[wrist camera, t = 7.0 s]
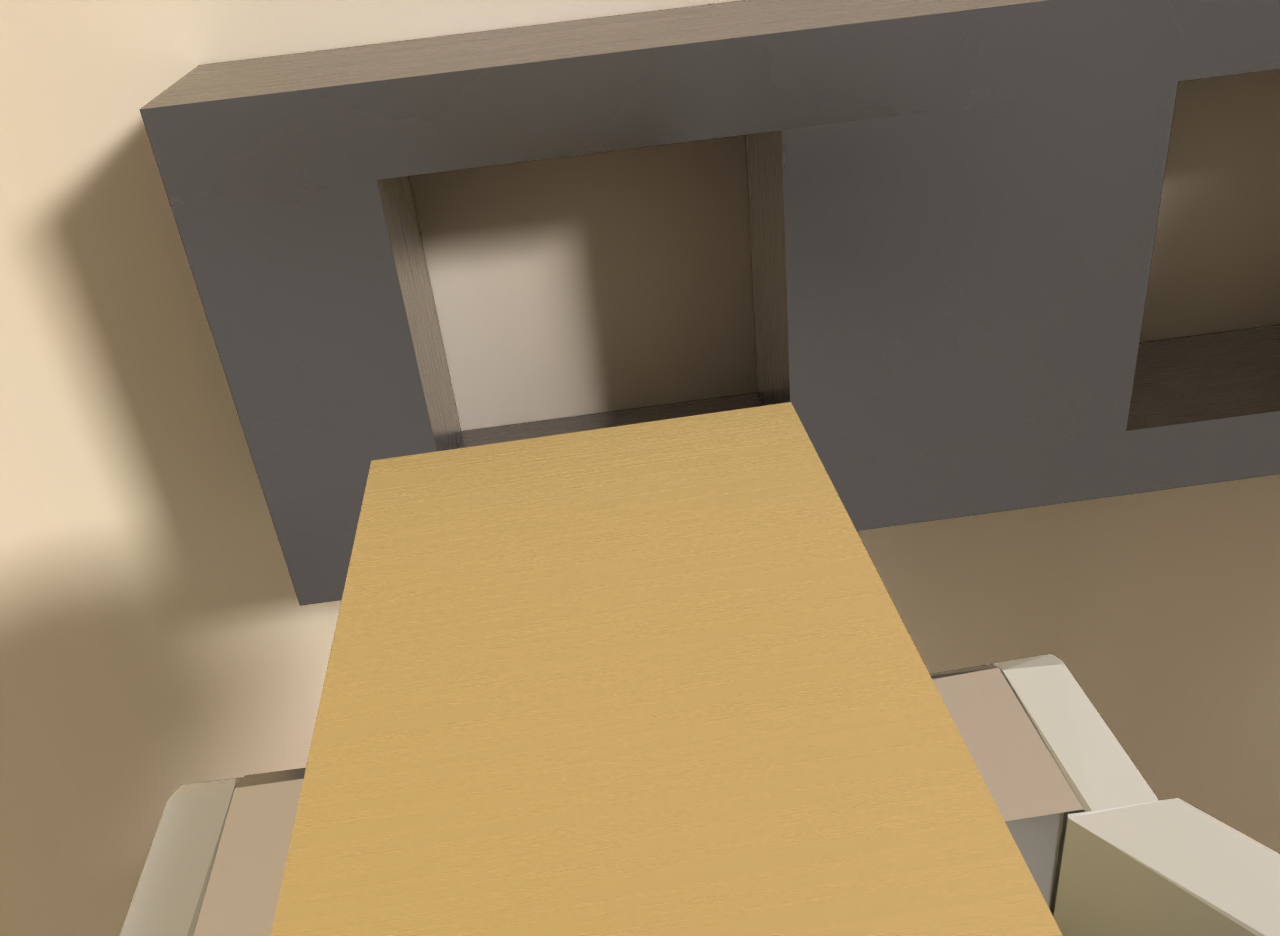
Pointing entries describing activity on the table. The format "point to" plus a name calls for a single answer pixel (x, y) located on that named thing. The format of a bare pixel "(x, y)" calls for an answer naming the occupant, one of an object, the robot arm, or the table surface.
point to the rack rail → (780, 241)
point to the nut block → (635, 708)
